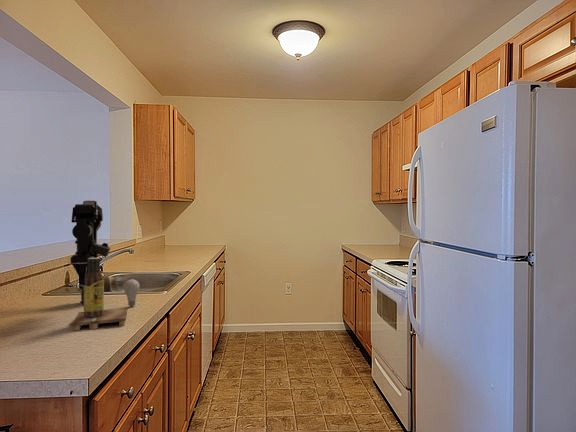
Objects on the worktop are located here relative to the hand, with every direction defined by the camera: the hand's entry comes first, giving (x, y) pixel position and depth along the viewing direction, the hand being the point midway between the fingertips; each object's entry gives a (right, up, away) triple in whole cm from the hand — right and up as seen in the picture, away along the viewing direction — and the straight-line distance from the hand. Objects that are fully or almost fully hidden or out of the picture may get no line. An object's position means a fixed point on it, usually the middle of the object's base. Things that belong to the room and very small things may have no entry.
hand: (85, 279), depth 148 cm
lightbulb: (+13, -13, +10) cm, 21 cm away
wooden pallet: (+11, -13, -11) cm, 21 cm away
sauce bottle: (+9, -11, -12) cm, 18 cm away
